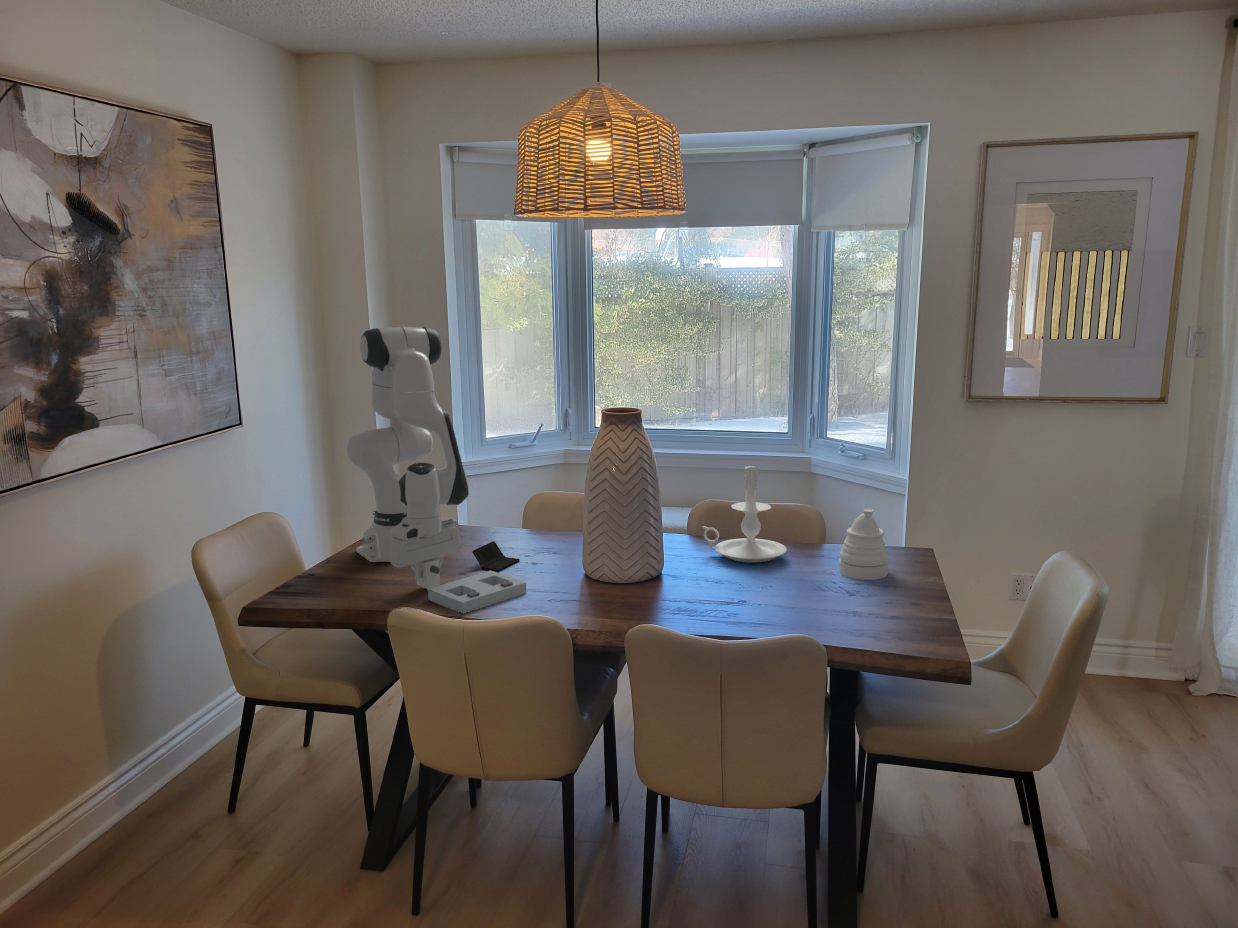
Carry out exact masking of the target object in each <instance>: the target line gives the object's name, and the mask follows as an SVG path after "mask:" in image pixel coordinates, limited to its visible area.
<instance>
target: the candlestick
mask: <svg viewBox="0 0 1238 928" xmlns="http://www.w3.org/2000/svg"><path fill="white" fill-rule="evenodd" d="M748 464H749V466H744V478H743V479H744V480H745V481H744V482H745V483H744V484H745V486H744V499H745V501H742V502H735V503H733V504H731V506H730V507H731V508H732V509H734V510H736V511H740V512H743V513H744V517H743V519H742V521H741V523H740V529H741V532H742V533H743V534H744V535H745V537H743V538H733V539H726V540H722V541H720V542H719V543H717V544H716V545H715V546H713V544H714V543H716V542H717V541H719V537H720V533H719V531H718V529H716V528H714V527H708V526H705V525H703V526H701V528H702V529H704V532H703V538H704V540H705V541H706V542H707V543H708V546H709V548H710V549H712V550H715V551H716V552H717V553H718V554H721V555H723V556H724V557H726V558H728V559H730V560H732V561H733V560H734V561H736V562H740V563H751V564H752V563H756V564H757V563H763V562H764V563H765V562H769V561H772V560H774V559H776V558H777V557H780V556H782V555H784V554H785V553H786V552H787V547H786V546H785V545H784V544H782V543H780V542H778V541H774V540H770V539H762V538H755V537H756V536H758V535H759V533H760V532H761V529H762V528H761V527H762V526H761V522H760V519H759V518H758V514H759V513H761V512H766V511H768V510H770V509H772V505H770V504H767V503H764V502H759V501H758V502H757V491H758V478H759V477H758V475H759V474H758V472H759V471H758V470H759V466H752V465H750V463H748ZM709 531H712V532H714V533H715V535H716V537H715V538H714V539H713V540H712V539H709V538H708V536H707V533H708V532H709Z"/></svg>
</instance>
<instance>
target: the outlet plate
mask: <svg viewBox="0 0 1238 928" xmlns="http://www.w3.org/2000/svg"><path fill="white" fill-rule="evenodd" d="M427 592H428V594H427V595H428V601H431V602H433V603H435V604H437V605H440V606H442V607H445V608H447V609H449V608H450V610H453V611H454V610H456V611H455V612H457V611H458V613H459V612H461V613H460V614H462V613H463V614H462V615H465V614H467V613H466V612H468V613H471V612H473V611H472V610H474V611H478V610H480V609H483V608H486V607H488V606H489V607H490V606H491V605H495V604H498V603H502V602H505V601H507V600H511V599H513V598H516V597H519V596H523V595H525V594H527V582H526V581H524V580H520V579H517V578H514V577H511V576H508V575H505V574H502V573H500V572H495V571H491V570H490V571H488V570H486V571H484V572H481V573H476V574H475V575H471V576H467V577H463V578H461V579H456V580H453V581H450V582H447V583H443V584H440V585H439V586H436V587H433V588H429V589H428V590H427ZM479 608H480V609H479ZM470 611H471V612H470ZM464 613H465V614H464Z"/></svg>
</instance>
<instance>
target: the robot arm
mask: <svg viewBox="0 0 1238 928" xmlns="http://www.w3.org/2000/svg"><path fill="white" fill-rule="evenodd" d="M359 350H360V354H361V357H362V361H363V362H364V363H365V364H367V366H369V367H372V376H371V406H372V408H373V410H374V412H375V413H377V415H380V417H383V418H385V419H388V420H389V423H390V424H389V427H385V428H382V427H381V428H376V429H375V428H374V429H373V428H372V429H367V430H363V431H360V432H358V433H354V434H352V435H351V436H350V438H349V439H348V442H347V445H346V454H347V457H348V459H349V460H350V462H351V463H352V464H353V465H354V466H355V467H357V468H359V469H360V470H362V471H363V472H364V473H365V475H367V476H368V478H369V480H370V482H371V484H372V487H373V491H374V493H373V494H374V499H375V508H376V510H373V511H372V513H373V514H372V515H373V523H371V525H370V526H369V527H368V528H367V529H366V530H365V531H364V533H363V536H362V539H361V540H362V543H363V545H359V546H357V547H356V549H355V552H356V553H357V554H359V555H361V557H363V558H365V560H367V561H368V562H370V563H378V562H379V563H380V562H390V564H391V565H392V567H396V568H398V569H401V568H404V567H408V566H410V568H411V569H412V571H413V572H414V578H415V579H416V580H417V579H420V578H423V571H420V570H419V569H418V568H417V567H419V563H420V562H424V561H427V560H431V559H438V560H439V568H440V573H441V567H442V565H443V562H444V560H445V556H449V555H450V556H451V555H454V554H457V553H459V552H460V551H461V549H462V541H461V536H460V532H459V529H460V528H459V523H458V521H457V520H455V519H454V518H453V519H452V518H451V519H450V518H449V519H447V520H442V510H441V508H440V505H441V506H443V505H444V506H445V505H447V506H459V505H460V504H462V503H464V501H465V500H466V499H468V496H469V493H470V484H469V479H468V477H467V474H466V472H465V470H464V466H463V462H462V458H461V457H462V456H461V454H460V450H459V446H458V442H457V437H456V433H455V431H454V426H453V423H452V422H453V421H452V418H451V417H450V414H449V412H448V411H447V410H446V409H443V408H442V407H441V406H440V405H439V402H438V401H437V397H436V393H435V390H436V389H435V381H434V380H435V379H434V374H433V370H432V366H431V365H432V364H436V363H437V362H438V361H439V360H440V358H441V354H442V341H441V337H440V334H439V333H438V331H437V330H435V329H434V328H431V327H425V326H422V327H417V326H398V327H397V326H395V327H386V328H377V327H375V328H371V329H368V330H365V331H364V332H363V334H362V335H361V337H360V344H359ZM431 432H432V433H434V434H436V435H437V436H438V438H439V439H440V441H441V446H442V450H443V454H444V457H445V462H446V467H445V468H443V469H436V466H435V465H434V464H433V463H429V462H417V461H420V460H423V459H425V458H428V457H429V456H430V455H431V453H432V452H433V448H434V438H433V435H432V433H431ZM413 462H415V463H413ZM406 463H413V464H410V465H408V467H407V468H406V471H405V473H404V474H403V475H400V474H397V473H396V472H395V467H394V466H395V465H399V464H406Z"/></svg>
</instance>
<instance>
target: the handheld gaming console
mask: <svg viewBox="0 0 1238 928" xmlns="http://www.w3.org/2000/svg"><path fill="white" fill-rule="evenodd" d="M471 553H472V554H473V556H474V557H475V559H476V561H477V562H478V563H479V565H480V566H481V570H482V571H488V570H489V571H490V570H491V571H494V572H497V573H500V572H503V571H504V570H506V569H508V568H511V567H513V566H514V565H516V564H518V563H520V562H521V559H520V558H514V557H507V556H505V555H504V553H503V552H502V550H501V549H500V547H499V545H498V544H497V543H496V541H494V540H493V541H490V542H488V543H486V544H484V545H482V546H479V547H477V548H476V549H474V550H472V551H471Z"/></svg>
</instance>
